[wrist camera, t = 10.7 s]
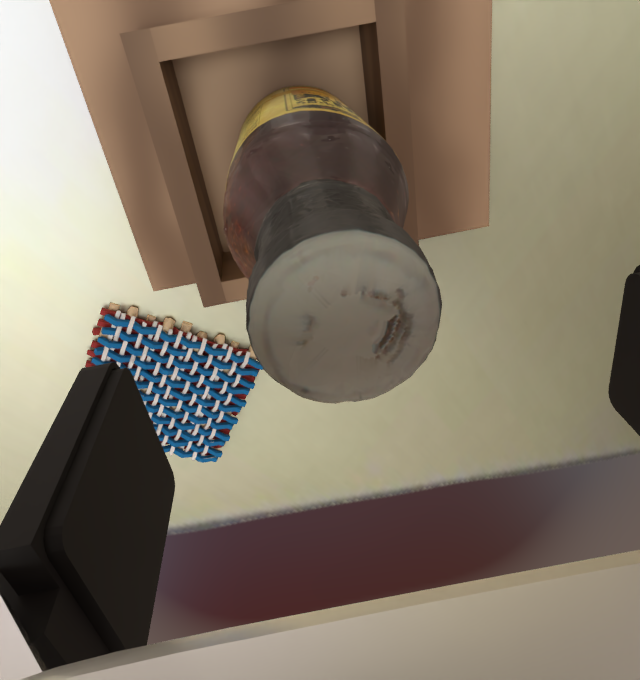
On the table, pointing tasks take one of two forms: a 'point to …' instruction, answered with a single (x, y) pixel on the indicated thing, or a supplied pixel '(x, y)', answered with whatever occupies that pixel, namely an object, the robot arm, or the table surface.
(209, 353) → the woven mat
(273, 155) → the sauce bottle
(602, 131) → the table surface
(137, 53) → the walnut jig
